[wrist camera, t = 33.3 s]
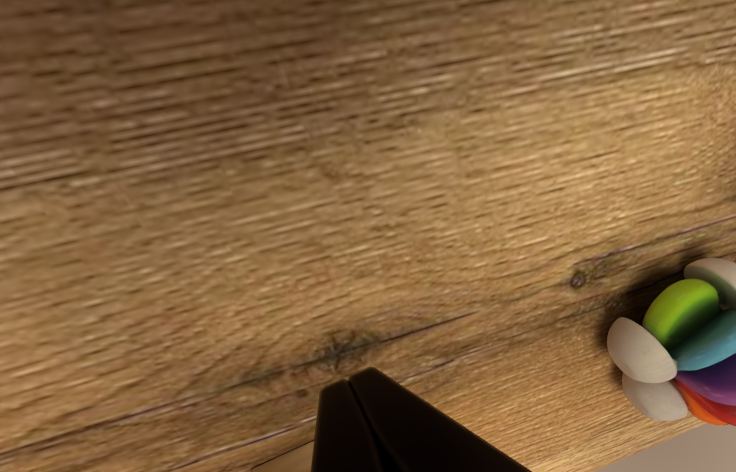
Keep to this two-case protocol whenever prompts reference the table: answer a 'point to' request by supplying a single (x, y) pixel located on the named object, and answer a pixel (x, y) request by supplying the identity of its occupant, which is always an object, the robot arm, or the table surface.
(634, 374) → the rainbow wheeled toy
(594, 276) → the table surface
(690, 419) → the table surface
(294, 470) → the tan wooden cube
